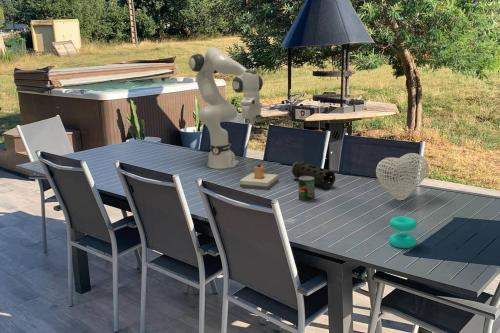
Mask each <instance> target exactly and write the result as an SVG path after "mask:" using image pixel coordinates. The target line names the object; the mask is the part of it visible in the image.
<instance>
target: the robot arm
mask: <svg viewBox="0 0 500 333" xmlns="http://www.w3.org/2000/svg"><path fill="white" fill-rule="evenodd" d="M188 62H189V64H188V66H189V68H190V70H192V71H193V72H196V77H195V78H196V83H197V87H198V90H199V93H200V95H201V98H202V99H203V101H204V102H205V103H206V104H207V103H208V104H209V105H206V106H203V107H201V108H199V111H198V118H199V121H200V122H201V123H202V124H204V125H205V127H206V128H207V129H208V132H209V139H210V144H209V150H210V152H208V163H206V166H207V167H209V168H211V169H215V170H216V169H217V170H219V169H220V170H222V169H231V168H235V167H236V166H237V165H238V163H239V160H238V159H236V155H235V153H234V152H233V151H232V150H231V146H232V144H231V143H230V142H229V133H228V131H227V130H226V129H225V128H223V127H222V126H221V123H226V122H230V121H233V120H235V119H236V117H237V115H238V110H237V107H236V106H235V105H234V104H233V103H230V102H229V101H227V100H226V98H224V96H223V95H222V94H221V92H220V90H219V87H218V85H217V83H216V80H215V78H214V74H218V73H219V74H223V75H233V76H234V75H235V77H234V78H233V79H232V82H231V83H232V84H231V85H232V87H231V88H232V89H233V92H235V93H237V94H243V97H242V99H241V100H240V105H241V117H242V119H244V120H248V121H249V125H250V126H253V125H255V122H256V116H259V115H260V114H261V113H262V104H261V101H260V98H261V97H260V91H261V90H262V88H263V86H264V81H263V78H262V76H260V75H259V73H258V71H257V70H254V69H253V70H251V69H248V68H247V67H245V66H244V65H243V64H241V63H240V62H238V61H236V60H234V59H233V58H231V57H229V55H227V54H226V53H225V52H224V51H223V50H221V49H220V48H219V47H217V46H216V47H215V46H214V47H213V46H212V47H209V48H208V49H207V50H206V52H205V53H195V54H193V55H191V56H190V58H189V61H188Z"/></svg>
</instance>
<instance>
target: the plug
mask: <svg viewBox="0 0 500 333" xmlns="http://www.w3.org/2000/svg"><path fill="white" fill-rule="evenodd" d="M253 168H254V172H253V173H255V179H263V178H264V174H265V166H264V165H262V164H261V163H257V164H256V166H254V167H253Z"/></svg>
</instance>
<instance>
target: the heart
mask: <svg viewBox="0 0 500 333" xmlns="http://www.w3.org/2000/svg"><path fill="white" fill-rule="evenodd" d="M429 170H430V169H429V163H428V161H427V159H426V158H425V157H424V156H423V155H421V154H420V153H419V154H418V153H416V152H415V153H414V152H413V153H412V152H408V153H406V154H404V155H402V156H400V157H391V156H390V157H384V159H382V160H380V161H379V162H378V164H377V166H376V168H375V174H376V178H377V180H378V182H379V183H380V184H381V186H382V187H383V188H384V189H385V190H386V191H387V192H388V193H389V194H390V195H392V197H393V198H395V199H396V200H397V201H399V202H402V201H401V200H403V201H405V200H406V199H407V198H408V197H409V196H410V194H412V193H413V191H414V190H415V189H416V188H417V187H418V186H419V185H420V184H421V183H422V182H423V181H424V180H425V178H426V177H427V175H428V173H429ZM393 178H394V179H393Z"/></svg>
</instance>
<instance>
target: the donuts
mask: <svg viewBox="0 0 500 333" xmlns="http://www.w3.org/2000/svg"><path fill="white" fill-rule="evenodd" d="M389 226H390V227H391V228H392V229H393V230H396V231H398V232H396V233H393V234H391V235H390V236H389V238H388V242H389V244H390V245H392V246H393V247H395V248H397V249H398V248H399V249H410V248H413V247H416V246H415V245H417V239H416V237H415V236H414V235H413V234H410V233H406V232H410V231H414V230H415V229H416V228H417V227H418V222H417V220H416V219H415V218H413V217H409V216H402V215H401V216H395V217H392V218H390V221H389Z"/></svg>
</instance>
